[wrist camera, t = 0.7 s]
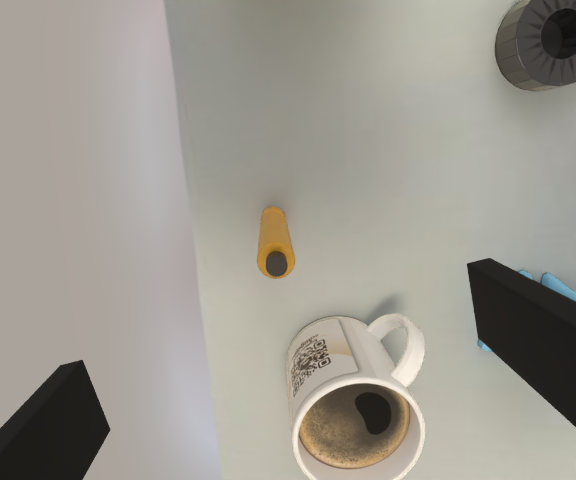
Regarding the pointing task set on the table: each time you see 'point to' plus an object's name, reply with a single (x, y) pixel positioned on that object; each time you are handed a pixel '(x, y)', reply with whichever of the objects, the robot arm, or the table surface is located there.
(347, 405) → the mug
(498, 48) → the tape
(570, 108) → the table surface
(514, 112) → the table surface
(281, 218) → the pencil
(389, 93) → the table surface
